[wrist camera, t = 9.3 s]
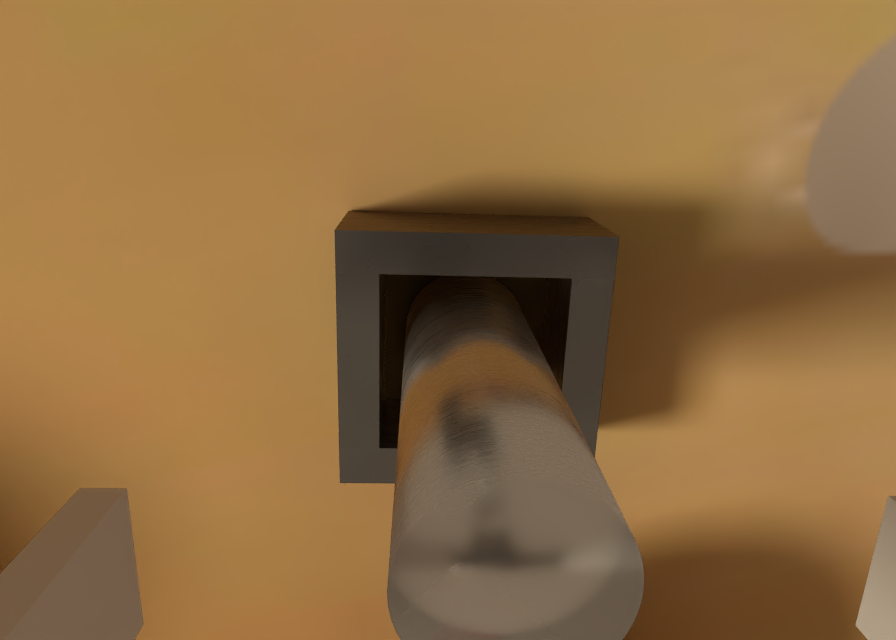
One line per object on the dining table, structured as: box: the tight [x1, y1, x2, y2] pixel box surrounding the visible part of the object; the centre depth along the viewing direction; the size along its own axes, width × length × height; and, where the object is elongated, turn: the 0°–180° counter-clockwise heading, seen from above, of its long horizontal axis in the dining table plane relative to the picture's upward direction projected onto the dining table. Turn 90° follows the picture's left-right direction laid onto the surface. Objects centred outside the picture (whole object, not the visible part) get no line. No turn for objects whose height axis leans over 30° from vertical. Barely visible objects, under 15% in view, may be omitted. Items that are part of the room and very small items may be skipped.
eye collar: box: [335, 211, 619, 483], centre depth 21 cm, size 8×8×4 cm
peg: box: [387, 276, 644, 640], centre depth 16 cm, size 4×4×13 cm
